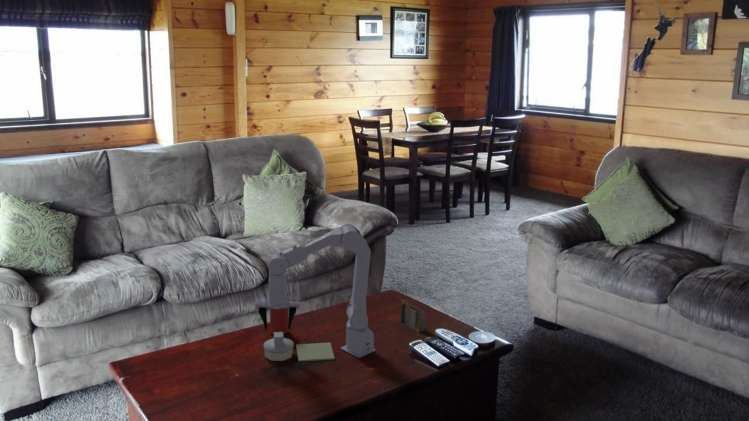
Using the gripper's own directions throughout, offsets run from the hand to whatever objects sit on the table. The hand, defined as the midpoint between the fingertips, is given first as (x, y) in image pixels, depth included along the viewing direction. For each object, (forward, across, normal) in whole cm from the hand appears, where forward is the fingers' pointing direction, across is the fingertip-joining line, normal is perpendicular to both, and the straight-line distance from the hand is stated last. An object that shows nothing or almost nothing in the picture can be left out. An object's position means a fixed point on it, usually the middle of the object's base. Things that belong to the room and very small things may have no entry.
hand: (277, 328), depth 227 cm
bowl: (+9, 0, 0) cm, 9 cm away
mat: (+9, +12, +1) cm, 16 cm away
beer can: (+10, 0, +18) cm, 20 cm away
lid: (+6, 0, 0) cm, 6 cm away
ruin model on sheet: (+10, +49, +21) cm, 54 cm away
